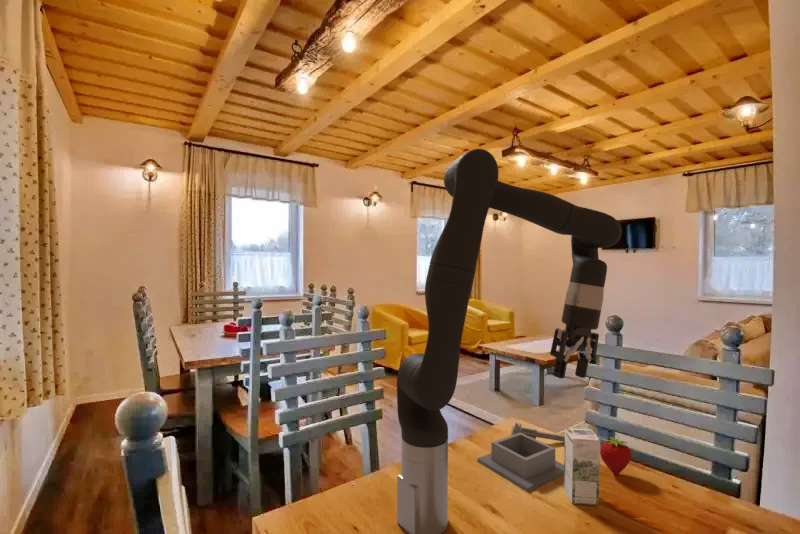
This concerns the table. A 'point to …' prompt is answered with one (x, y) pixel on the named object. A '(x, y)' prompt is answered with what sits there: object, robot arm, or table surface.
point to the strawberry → (615, 455)
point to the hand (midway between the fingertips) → (569, 377)
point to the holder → (523, 461)
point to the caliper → (536, 433)
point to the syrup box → (582, 466)
